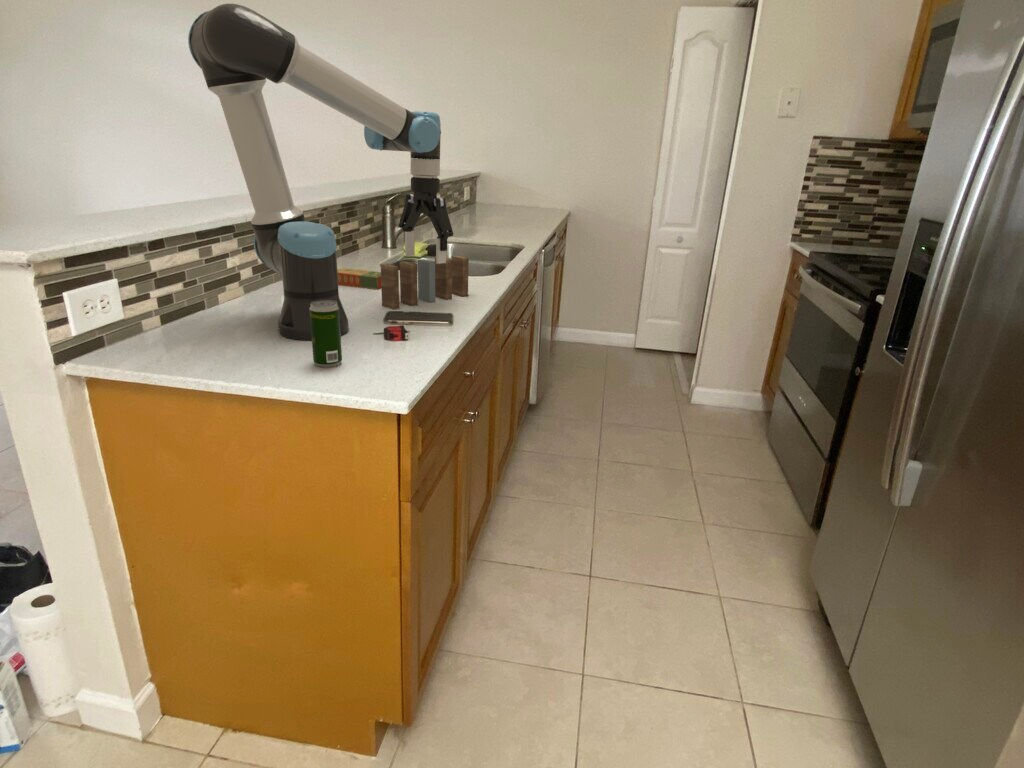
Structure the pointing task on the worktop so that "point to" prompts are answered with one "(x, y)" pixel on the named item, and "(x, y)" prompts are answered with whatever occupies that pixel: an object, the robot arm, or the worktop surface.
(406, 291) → the domino
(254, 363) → the worktop surface
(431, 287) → the domino
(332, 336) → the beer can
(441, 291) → the domino
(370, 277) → the carton
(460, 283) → the domino
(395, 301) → the domino
